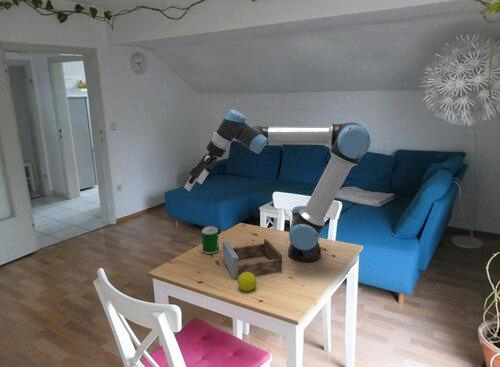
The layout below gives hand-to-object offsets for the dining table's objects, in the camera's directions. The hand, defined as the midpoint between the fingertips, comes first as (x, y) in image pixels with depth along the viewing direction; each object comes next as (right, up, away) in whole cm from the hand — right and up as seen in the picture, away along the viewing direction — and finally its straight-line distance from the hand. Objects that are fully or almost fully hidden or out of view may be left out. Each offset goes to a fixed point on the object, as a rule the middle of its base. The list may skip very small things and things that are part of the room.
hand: (193, 185), depth 157 cm
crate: (+26, -35, +2) cm, 44 cm away
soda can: (+6, -32, +18) cm, 37 cm away
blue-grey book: (+16, -35, -1) cm, 39 cm away
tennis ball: (+23, -40, -16) cm, 49 cm away
